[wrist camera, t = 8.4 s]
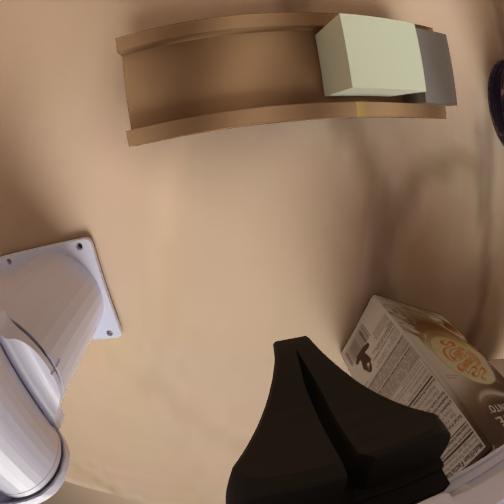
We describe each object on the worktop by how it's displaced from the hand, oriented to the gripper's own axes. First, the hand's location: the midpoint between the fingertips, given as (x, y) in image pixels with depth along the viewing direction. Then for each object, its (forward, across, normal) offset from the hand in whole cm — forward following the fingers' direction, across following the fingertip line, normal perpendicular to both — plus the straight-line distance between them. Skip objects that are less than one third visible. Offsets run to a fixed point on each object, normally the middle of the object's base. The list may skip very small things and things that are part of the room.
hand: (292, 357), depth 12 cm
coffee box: (+10, -11, +9) cm, 17 cm away
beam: (+10, -3, -12) cm, 16 cm away
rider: (+7, -6, -12) cm, 15 cm away
